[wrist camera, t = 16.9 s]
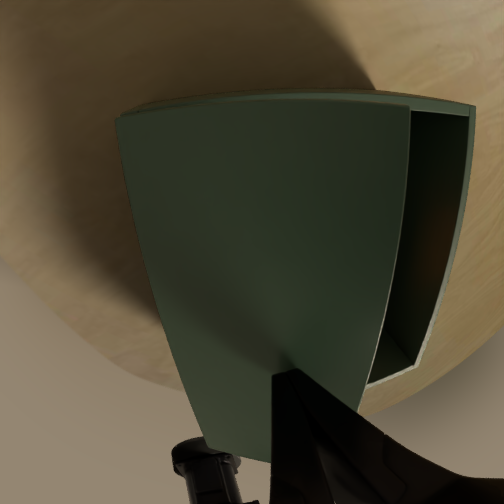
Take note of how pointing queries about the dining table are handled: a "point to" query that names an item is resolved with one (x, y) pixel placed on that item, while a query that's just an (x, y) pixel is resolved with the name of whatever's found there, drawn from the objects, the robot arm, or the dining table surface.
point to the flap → (267, 246)
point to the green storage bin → (415, 211)
